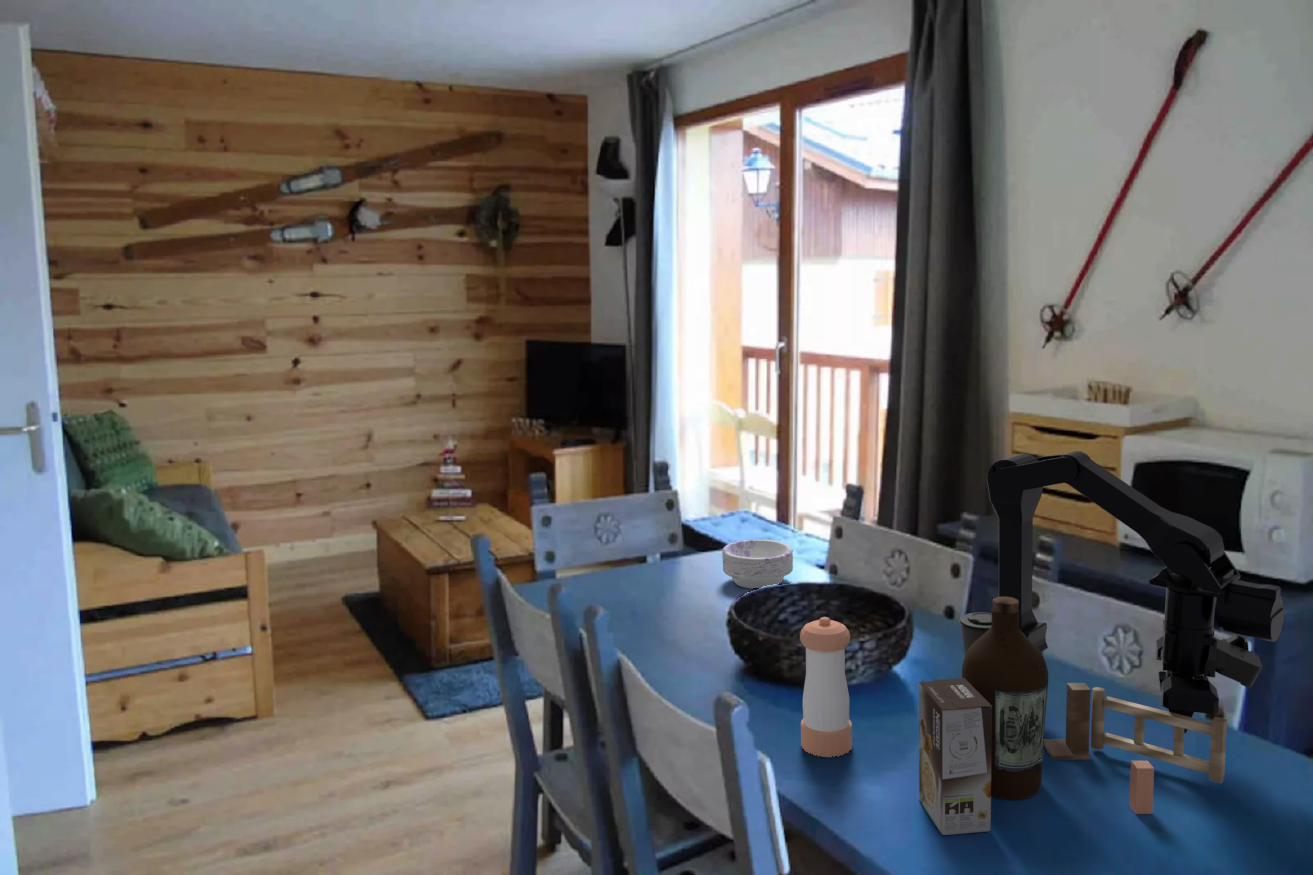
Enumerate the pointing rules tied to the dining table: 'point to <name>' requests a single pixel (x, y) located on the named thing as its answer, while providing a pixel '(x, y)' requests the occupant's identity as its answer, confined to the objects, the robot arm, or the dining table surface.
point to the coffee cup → (974, 627)
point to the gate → (1138, 746)
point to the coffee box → (955, 755)
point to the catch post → (1141, 787)
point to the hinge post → (1073, 726)
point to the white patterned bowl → (757, 562)
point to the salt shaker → (825, 690)
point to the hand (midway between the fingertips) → (1181, 732)
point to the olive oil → (1011, 700)
